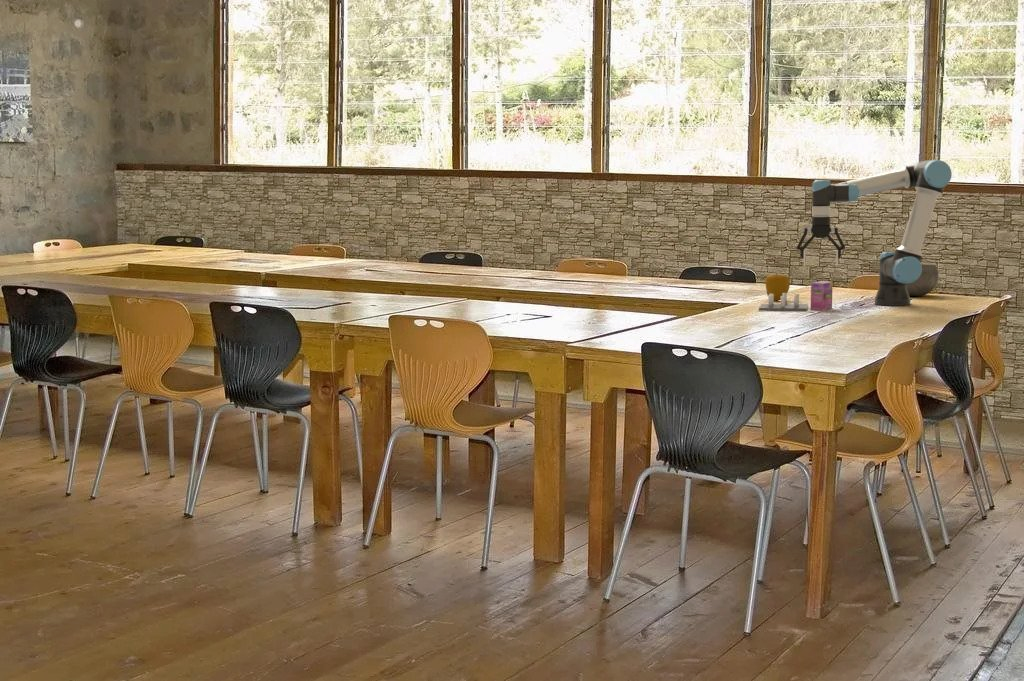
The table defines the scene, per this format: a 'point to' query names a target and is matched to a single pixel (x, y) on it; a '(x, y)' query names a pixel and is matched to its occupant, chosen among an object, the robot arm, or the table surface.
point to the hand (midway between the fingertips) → (820, 265)
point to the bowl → (924, 281)
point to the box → (821, 295)
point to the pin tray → (787, 307)
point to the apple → (777, 285)
